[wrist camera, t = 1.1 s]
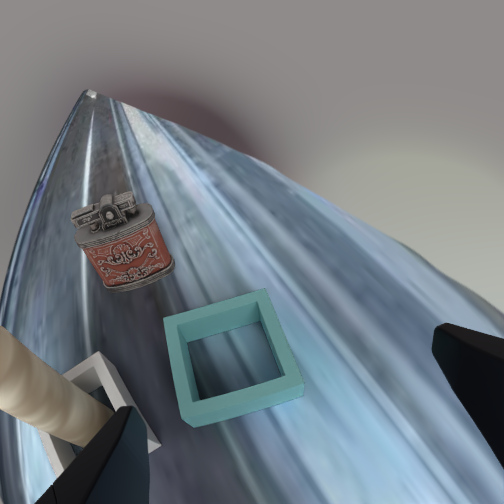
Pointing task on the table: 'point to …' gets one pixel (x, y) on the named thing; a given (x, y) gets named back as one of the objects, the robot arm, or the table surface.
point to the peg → (46, 395)
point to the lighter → (122, 242)
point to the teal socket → (218, 321)
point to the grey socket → (89, 379)
